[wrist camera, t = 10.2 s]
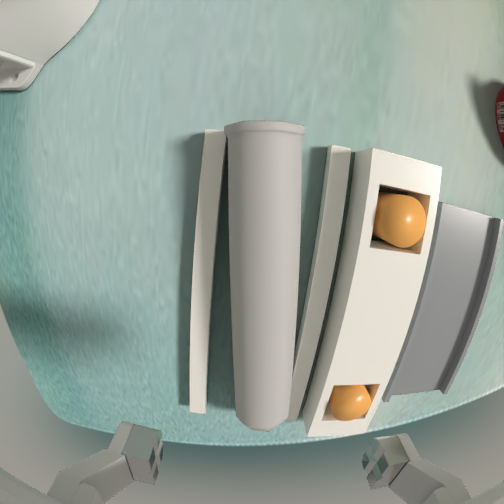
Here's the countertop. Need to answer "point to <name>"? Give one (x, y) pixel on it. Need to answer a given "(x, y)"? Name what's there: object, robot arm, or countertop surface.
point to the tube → (264, 265)
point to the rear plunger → (349, 401)
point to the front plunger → (399, 219)
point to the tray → (447, 301)
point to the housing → (346, 286)
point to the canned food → (500, 114)
